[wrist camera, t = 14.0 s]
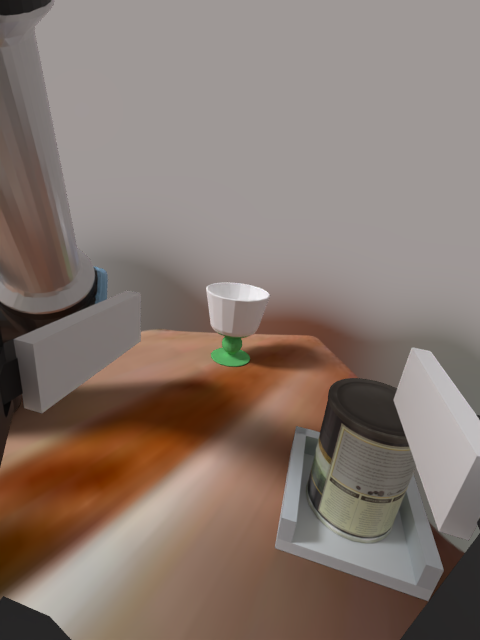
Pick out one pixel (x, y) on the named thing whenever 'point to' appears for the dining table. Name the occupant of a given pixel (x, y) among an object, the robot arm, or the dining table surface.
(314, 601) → the dining table surface
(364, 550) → the tray
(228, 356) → the cup
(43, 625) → the robot arm
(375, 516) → the coffee can
